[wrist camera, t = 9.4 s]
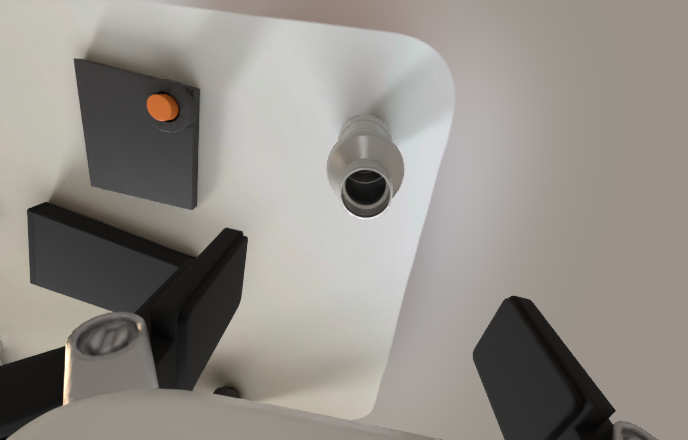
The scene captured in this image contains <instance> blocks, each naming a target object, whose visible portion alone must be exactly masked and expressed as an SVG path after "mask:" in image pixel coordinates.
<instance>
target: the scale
mask: <svg viewBox="0 0 688 440" xmlns="http://www.w3.org/2000/svg"><path fill="white" fill-rule="evenodd" d="M74 65H75V72H76V80H77V87H78V94H79V101H80V108H81V116H82V123H83V130H84V137H85V145H86V152H87V159H88V166H89V174H90V181H91V186H92V187H97V188H101V189H105V190H109V191H113V192H118V193H122V194H126V195H130V196H135V197H139V198H143V199H147V200H151V201H156V202H160V203H164V204H168V205H172V206H177V207H181V208H185V209H189V210H193V209H194V208H195V207H197V176H198V137H199V97H200V89H198V88H194V87H190V86H186V85H182V84H180V83H179V82H176V81H172V80H168V79H159V78H155V77H151V76H147V75H143V74H139V73H135V72H132V71H128V70H124V69H120V68H116V67H112V66H108V65H104V64H100V63H97V62H93V61H89V60H85V59H75V58H74ZM155 94H167V95H169V96H171V97H172V98H174V99H175V101H176V102H177V104H178V108H179V112H178V115H177V116H176V117H175V118H174V119H171V120H166V121H159V120H157V119H155V118H154V117H152V116H151V114H150V113H149V111H148V109H147V100H148V98H149V97H150V96H152V95H155Z"/></svg>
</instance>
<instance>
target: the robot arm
mask: <svg viewBox="0 0 688 440" xmlns="http://www.w3.org/2000/svg"><path fill="white" fill-rule="evenodd" d="M247 243H248V237H246V236H243V232H242V231H238V230H234V229H230V228H225V229H223V230H222V232H221V233H220V234H219V235H218V236H217V237H216V238H215V239H214V240H213V241H212V242H211V243H210V244H209V245H208V246H207V247H206V249H205V250H204V251H203V252H202V253H201V254H200V255H199V256H198V257H197V258H196V259H195V260H193V259H188V260H186V261H185V262H184V263H183V264H182V265H181V266H180V267H179V268H178V269H177V270H176V271H175V272H174V273H173V274H172V275H171V276H170V277H169V278H168V279H167V280H166V281H165V282H164V283H163V284H162V285H161V286H160V287H159V288H158V289H157V290H156V291H155V292H154V293H153V294H152V295H151V296H150V297H149V298H148V299H147V300H146V301H145V302H144V303H143V304H142V305H141V306H140V307H139V309H138V310H137V311H136V312H135V313H130V312H112V313H106V314H103V315H100V316H96V317H94V318H92V319H90V320H88V321H86V322H84V323H83V324H81V325H80V326H79V327H77V328H76V329H75V330H74V331H73V332H72V334H71V335H70V336H69V337H68V341H67V344H66V346H64V347H61V348H58V349H54V350H51V351H48V352H44V353H41V354H38V355H35V356H31V357H28V358H25V359H22V360H18V361H15V362H12V363H9V364H5V365H2V366H0V440H441V439H436V438H431V437H427V436H422V435H417V434H412V433H408V432H402V431H398V430H393V429H388V428H384V427H379V426H374V425H369V424H365V423H360V422H355V421H350V420H345V419H340V418H335V417H330V416H325V415H320V414H316V413H311V412H306V411H301V410H296V409H291V408H286V407H281V406H276V405H271V404H266V403H260V402H255V401H250V400H244V399H239V398H233V397H228V396H223V395H217V394H210V393H203V392H196V391H192V390H193V388H194V386H195V384H196V382H197V380H198V379H199V377H200V375H201V373H202V371H203V370H204V368H205V366H206V364H207V362H208V361H209V359H210V357H211V355H212V353H213V352H214V350H215V348H216V346H217V344H218V343H219V341H220V339H221V337H222V335H223V334H224V332H225V330H226V328H227V326H228V324H229V323H230V321H231V319H232V317H233V315H234V314H235V312H236V310H237V308H238V306H239V304H240V301H241V295H242V287H243V278H244V269H245V260H246V252H247ZM473 360H474V363H475V366H476V368H477V371H478V373H479V376H480V378H481V381H482V383H483V386H484V388H485V391H486V393H487V396H488V399H489V401H490V404H491V406H492V409H493V411H494V414H495V416H496V419H497V421H498V424H499V426H500V429H501V432H502V434H503V437H504V439H505V440H657V439H656V438H655V437H653V436H652V435H651V434H649V433H648V432H647V431H645V430H643V429H642V428H640V427H638V426H637V425H634V424H632V423H629V422H625V421H618V422H616V423H615V424H614V425H613V424H612V423H611V421H610V420H609V419H608V418H609V417H610V416H611V415H612V414H613V413H614V412H615V411H616V410H615V409H614V408H613V407H612V405H611V404H610V403H609V401H608V400H607V399H606V397H605V396H604V395H603V394H602V392H601V391H600V390H599V389H598V387H597V386H596V385H595V383H594V382H593V381H592V379H591V378H590V377H589V375H588V374H587V373H586V371H585V370H584V369H583V367H582V366H581V365H580V364H579V362H578V361H577V360H576V358H575V357H574V356H573V355H572V353H571V352H570V350H569V349H568V348H567V346H566V345H565V344H564V343H563V341H562V340H561V339H560V337H559V336H558V335H557V333H556V332H555V331H554V329H553V328H552V327H551V326H550V324H549V323H548V322H547V320H546V319H545V318H544V316H543V315H542V314H541V312H540V311H539V310H538V309H537V307H536V306H535V305H534V303H533V302H532V301H531V300H529V299H525V298H521V297H517V296H511V297H509V298H507V299H505V300H504V301H503V302H502V304H501V306H500V307H499V309H498V311H497V312H496V314H495V316H494V317H493V319H492V321H491V322H490V324H489V325H488V327H487V329H486V330H485V332H484V334H483V335H482V337H481V339H480V340H479V342H478V344H477V345H476V347H475V349H474V351H473Z"/></svg>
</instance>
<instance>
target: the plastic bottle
mask: <svg viewBox="0 0 688 440" xmlns="http://www.w3.org/2000/svg"><path fill="white" fill-rule="evenodd" d="M326 169H327V177H328V181H329V184H330V186H331V188H332V190H333V191H334V193H335V194H336V195H337V197H338V198H339V199H340V201H341V204H342V206H343V207H344V209H345V210H346V211H347V212H348V213H349V214H350V215H352V216H354V217H356V218H359V219H364V220H366V219H374V218H377V217H379V216H380V215H382V214H383V213H384V212H385V211H386V210H387V209H388V208H389V206H390V204H391V201H392V198H393V197H394V196H395V194H396V193H397V191H398V190H399V188H400V186H401V184H402V181H403V176H404V163H403V158H402V156H401V153H400V151H399V149H398V148H397V146H396V145H395V144H394V143H393V142H392V136H391V133H390V130H389V128H388V127H387V125H386V124H385V123H384V122H383V121H382V120H380V119H379V118H377V117H375V116H373V115H367V114H363V115H358V116H355V117H353V118H351V119H349V120H348V121H347V122H346V123H345V124H344V125H343V127H342V128H341V130H340V133H339V136H338V142H337V143H336V144H335V145H334V146H333V148H332V150H331V152H330V154H329V157H328V160H327V168H326Z"/></svg>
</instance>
